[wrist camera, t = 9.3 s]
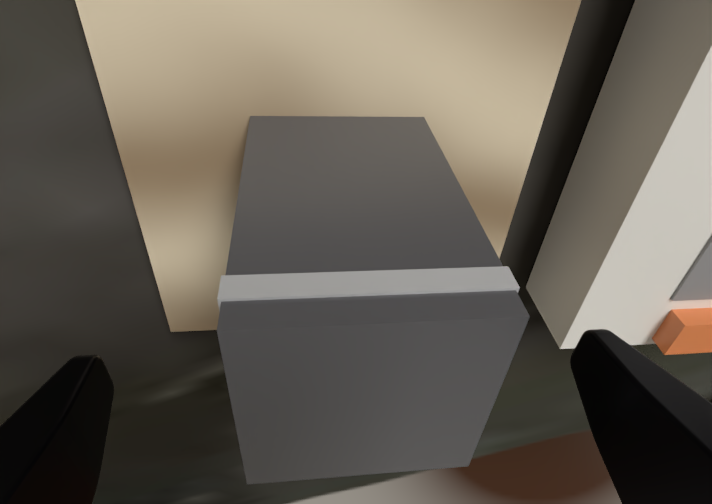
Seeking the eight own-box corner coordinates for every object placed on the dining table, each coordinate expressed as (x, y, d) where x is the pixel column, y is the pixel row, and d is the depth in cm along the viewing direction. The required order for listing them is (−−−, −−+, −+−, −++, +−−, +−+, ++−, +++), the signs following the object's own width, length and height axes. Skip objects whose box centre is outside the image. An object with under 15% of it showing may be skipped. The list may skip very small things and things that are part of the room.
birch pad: (472, 298, 18) (480, 317, 17) (176, 310, 17) (171, 331, 16) (568, -31, 11) (588, -22, 11) (79, -52, 10) (62, -45, 9)
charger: (405, 251, 15) (470, 467, 10) (261, 254, 14) (244, 486, 9) (425, 115, 12) (534, 313, 7) (247, 113, 12) (211, 328, 6)
